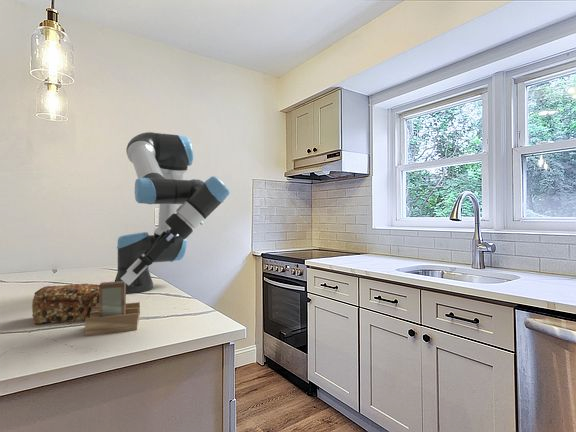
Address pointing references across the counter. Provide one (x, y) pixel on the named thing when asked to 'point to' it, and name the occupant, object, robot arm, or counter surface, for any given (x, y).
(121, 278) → the robot arm
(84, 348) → the counter surface
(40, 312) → the bread
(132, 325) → the divided tray
